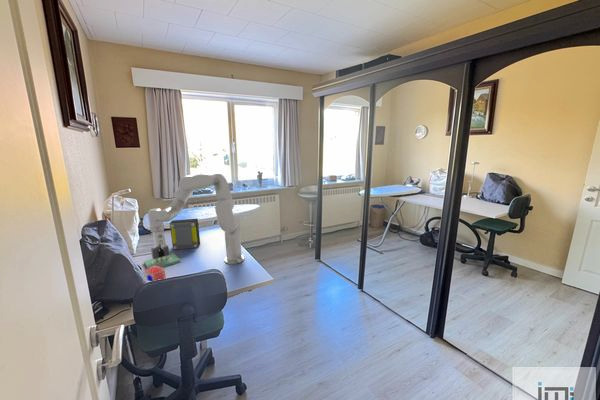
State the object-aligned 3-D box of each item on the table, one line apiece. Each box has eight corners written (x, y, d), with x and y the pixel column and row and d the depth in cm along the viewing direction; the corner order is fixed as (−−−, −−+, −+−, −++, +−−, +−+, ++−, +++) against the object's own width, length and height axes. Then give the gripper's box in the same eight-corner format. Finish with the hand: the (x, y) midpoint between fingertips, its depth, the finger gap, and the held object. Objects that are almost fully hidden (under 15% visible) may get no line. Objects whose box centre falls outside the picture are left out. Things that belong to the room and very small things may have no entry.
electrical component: (172, 250, 189) (168, 224, 184) (175, 245, 198) (172, 220, 194) (198, 248, 192) (195, 222, 188) (200, 243, 202) (197, 218, 197)
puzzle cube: (166, 280, 148) (164, 267, 146) (153, 287, 141) (151, 274, 139) (156, 277, 151) (154, 265, 149) (143, 284, 144) (141, 271, 142)
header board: (180, 261, 171) (179, 255, 170) (149, 271, 159) (148, 263, 158) (173, 255, 181) (172, 248, 180) (144, 263, 169) (142, 256, 168)
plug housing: (169, 255, 171) (168, 246, 169) (153, 259, 165) (152, 250, 163) (167, 253, 173) (166, 244, 172) (152, 257, 167) (151, 248, 166)
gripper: (167, 230, 161) (171, 257, 165) (160, 224, 173) (163, 250, 177) (154, 232, 156) (158, 261, 160) (147, 226, 168) (151, 253, 172)
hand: (160, 255), depth 169 cm, fingers closed on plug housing, 3 cm apart
